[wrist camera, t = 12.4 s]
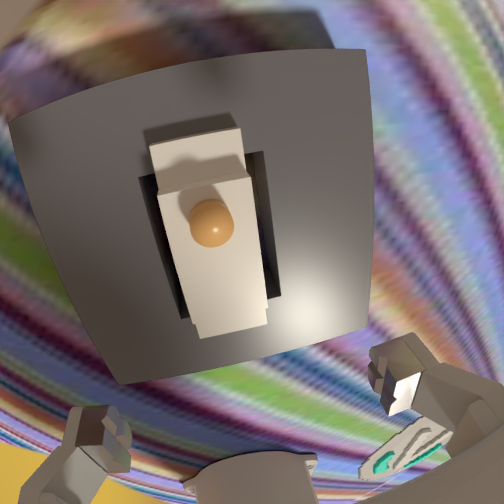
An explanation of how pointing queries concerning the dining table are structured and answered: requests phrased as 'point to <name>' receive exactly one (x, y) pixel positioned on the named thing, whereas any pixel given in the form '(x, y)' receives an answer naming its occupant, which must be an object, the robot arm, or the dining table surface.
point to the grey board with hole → (269, 194)
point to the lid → (405, 449)
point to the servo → (212, 229)
